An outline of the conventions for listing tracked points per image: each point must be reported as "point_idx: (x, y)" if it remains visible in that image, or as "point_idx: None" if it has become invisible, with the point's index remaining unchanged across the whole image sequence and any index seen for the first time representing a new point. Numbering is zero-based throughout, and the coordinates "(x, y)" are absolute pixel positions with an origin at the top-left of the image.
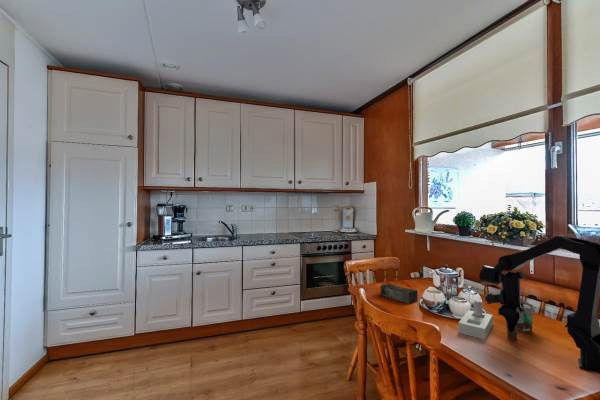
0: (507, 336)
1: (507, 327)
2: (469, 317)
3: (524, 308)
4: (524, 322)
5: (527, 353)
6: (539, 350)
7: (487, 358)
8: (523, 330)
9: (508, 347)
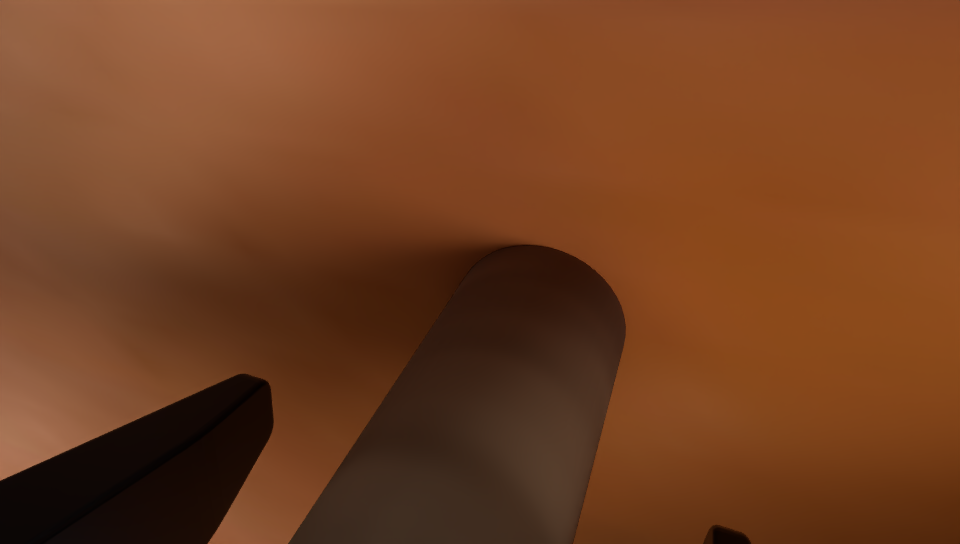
0: (521, 256)
1: (420, 398)
2: None
3: None
4: None
5: (105, 375)
6: (300, 522)
7: None
8: None
9: (87, 186)
